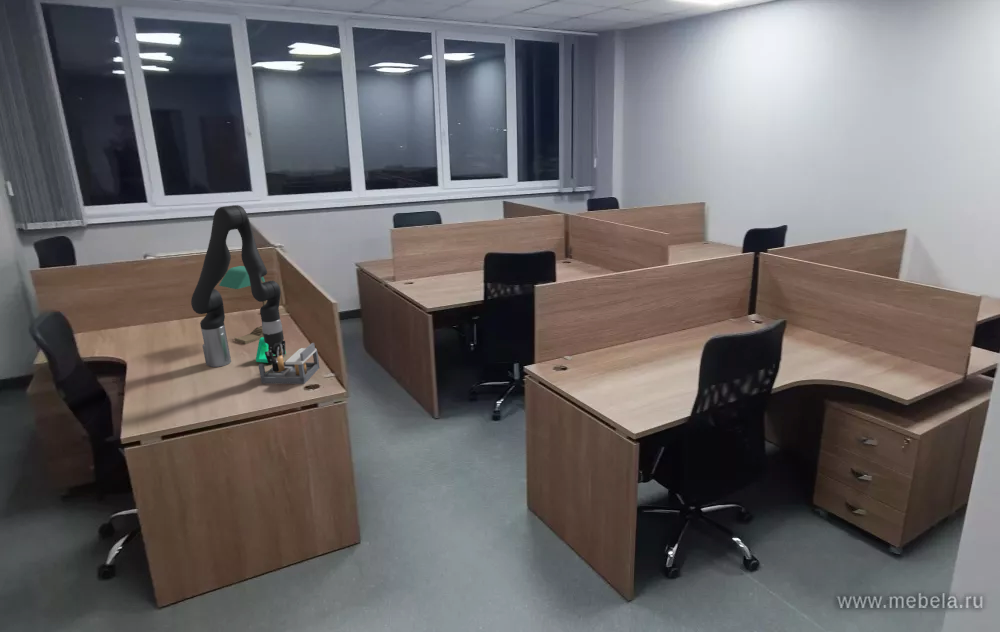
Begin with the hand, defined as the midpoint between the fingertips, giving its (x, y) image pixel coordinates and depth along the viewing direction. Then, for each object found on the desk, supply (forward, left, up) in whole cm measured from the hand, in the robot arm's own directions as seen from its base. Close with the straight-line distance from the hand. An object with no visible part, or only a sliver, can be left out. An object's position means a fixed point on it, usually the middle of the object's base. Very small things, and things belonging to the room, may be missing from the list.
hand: (278, 368), depth 241 cm
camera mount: (-11, +17, -3) cm, 21 cm away
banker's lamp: (-33, +45, -3) cm, 56 cm away
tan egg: (0, 0, -1) cm, 1 cm away
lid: (+10, 0, +5) cm, 12 cm away
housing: (+5, 0, -3) cm, 6 cm away
